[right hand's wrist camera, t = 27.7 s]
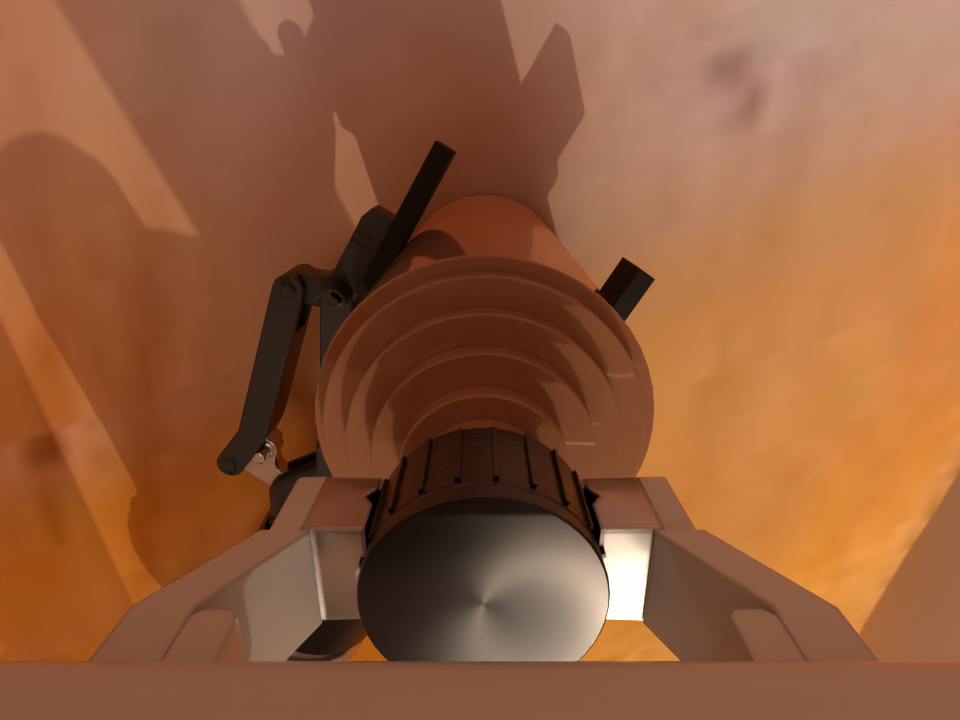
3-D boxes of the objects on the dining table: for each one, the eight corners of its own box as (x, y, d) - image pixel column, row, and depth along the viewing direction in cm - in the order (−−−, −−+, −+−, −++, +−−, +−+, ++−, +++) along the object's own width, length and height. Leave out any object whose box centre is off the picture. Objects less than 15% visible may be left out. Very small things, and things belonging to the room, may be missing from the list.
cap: (366, 585, 11) (341, 681, 9) (389, 406, 10) (365, 473, 8) (561, 612, 11) (579, 711, 9) (611, 441, 10) (645, 514, 8)
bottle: (389, 327, 31) (196, 691, 10) (427, 173, 28) (266, 246, 7) (534, 367, 31) (628, 782, 11) (585, 222, 29) (843, 410, 8)
